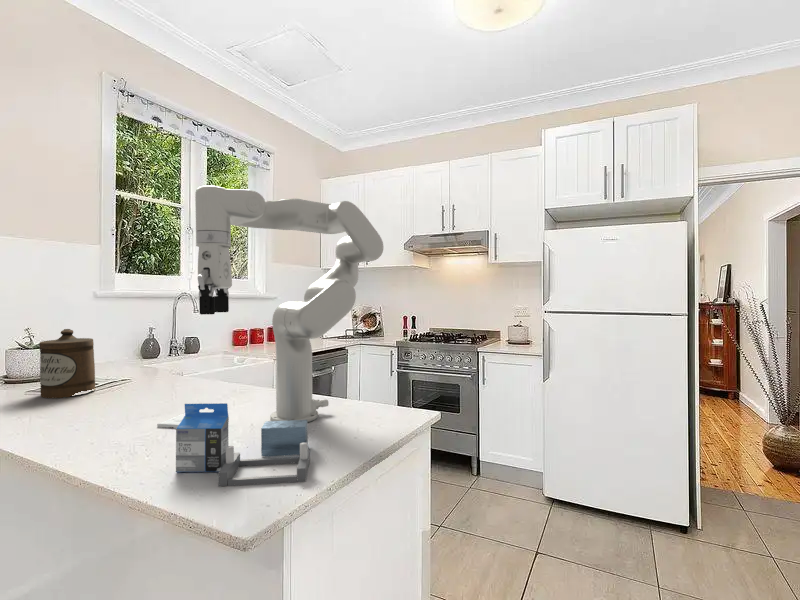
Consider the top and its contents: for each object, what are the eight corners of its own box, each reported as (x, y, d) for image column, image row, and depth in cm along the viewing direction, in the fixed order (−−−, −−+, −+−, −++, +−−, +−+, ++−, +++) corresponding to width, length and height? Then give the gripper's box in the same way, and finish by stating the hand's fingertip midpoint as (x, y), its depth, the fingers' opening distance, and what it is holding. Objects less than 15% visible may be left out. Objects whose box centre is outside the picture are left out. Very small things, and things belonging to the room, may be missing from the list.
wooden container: (28, 397, 142) (27, 330, 142) (69, 388, 157) (68, 327, 157) (67, 399, 140) (66, 331, 140) (105, 389, 155) (104, 327, 154)
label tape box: (174, 473, 82) (173, 408, 82) (185, 464, 86) (184, 403, 86) (221, 473, 82) (220, 408, 82) (229, 464, 86) (229, 402, 86)
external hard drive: (215, 417, 121) (185, 431, 109) (189, 415, 123) (157, 429, 111) (215, 411, 121) (185, 424, 109) (189, 410, 123) (157, 422, 111)
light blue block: (265, 448, 95) (264, 421, 95) (307, 446, 97) (307, 419, 96) (260, 457, 90) (260, 428, 90) (305, 455, 92) (305, 426, 91)
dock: (232, 465, 86) (232, 438, 86) (309, 461, 88) (309, 435, 88) (218, 486, 76) (218, 457, 76) (305, 481, 78) (305, 452, 78)
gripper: (217, 235, 94) (218, 315, 94) (240, 244, 111) (241, 311, 112) (181, 235, 93) (183, 315, 94) (210, 244, 111) (211, 311, 111)
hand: (214, 313), depth 103 cm, fingers open, 9 cm apart
